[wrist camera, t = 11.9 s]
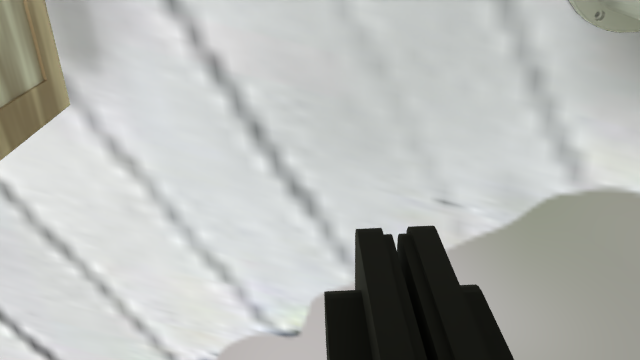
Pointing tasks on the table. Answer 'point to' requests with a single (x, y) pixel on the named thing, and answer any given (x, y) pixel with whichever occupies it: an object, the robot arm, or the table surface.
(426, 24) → the table surface
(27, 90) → the picture frame
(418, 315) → the robot arm
